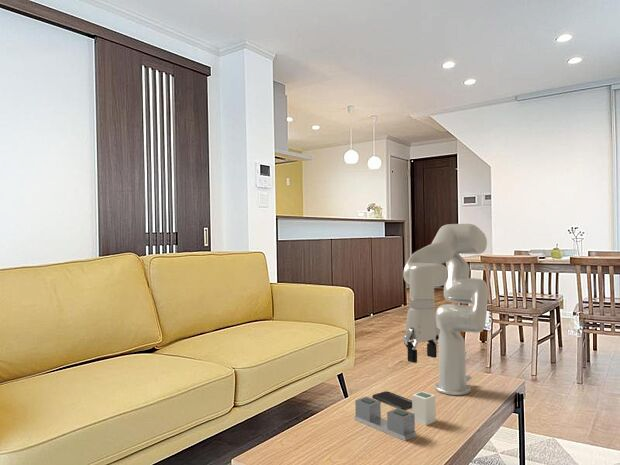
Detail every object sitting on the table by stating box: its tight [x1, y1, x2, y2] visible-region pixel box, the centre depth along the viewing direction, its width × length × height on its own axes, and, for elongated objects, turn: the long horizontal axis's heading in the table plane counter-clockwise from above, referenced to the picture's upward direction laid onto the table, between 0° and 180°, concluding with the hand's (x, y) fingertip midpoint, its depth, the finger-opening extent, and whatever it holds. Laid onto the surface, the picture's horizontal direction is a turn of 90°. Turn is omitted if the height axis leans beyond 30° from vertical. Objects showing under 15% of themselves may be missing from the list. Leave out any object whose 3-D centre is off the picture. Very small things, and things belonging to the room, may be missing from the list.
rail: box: [354, 396, 417, 442], centre depth 140 cm, size 5×20×6 cm, turn 40°
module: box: [411, 390, 437, 426], centre depth 144 cm, size 5×5×8 cm
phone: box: [371, 390, 412, 411], centre depth 161 cm, size 8×1×15 cm
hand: (422, 359), depth 144 cm, fingers open, 9 cm apart
